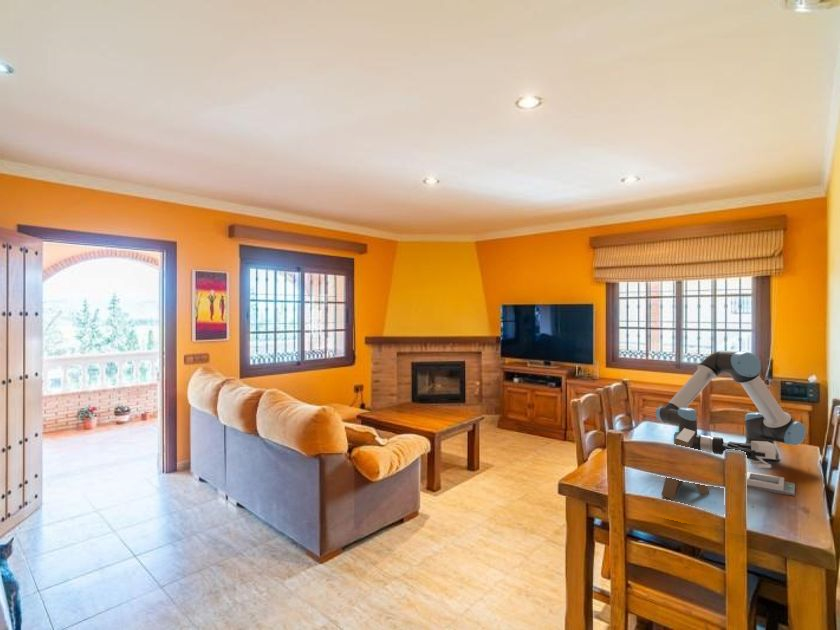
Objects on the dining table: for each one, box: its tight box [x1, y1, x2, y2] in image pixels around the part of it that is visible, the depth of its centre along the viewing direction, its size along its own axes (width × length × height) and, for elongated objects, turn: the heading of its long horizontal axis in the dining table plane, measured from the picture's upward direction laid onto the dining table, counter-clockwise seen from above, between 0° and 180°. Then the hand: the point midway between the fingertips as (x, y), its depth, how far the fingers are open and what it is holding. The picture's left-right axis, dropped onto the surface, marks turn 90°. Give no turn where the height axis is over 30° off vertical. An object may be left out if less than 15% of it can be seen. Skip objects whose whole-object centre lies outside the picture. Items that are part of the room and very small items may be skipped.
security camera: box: [749, 441, 776, 469], centre depth 188 cm, size 6×7×10 cm
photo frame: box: [661, 428, 710, 500], centre depth 182 cm, size 15×22×25 cm
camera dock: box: [746, 471, 796, 497], centre depth 188 cm, size 15×20×3 cm
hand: (775, 453), depth 185 cm, fingers closed on security camera, 8 cm apart
